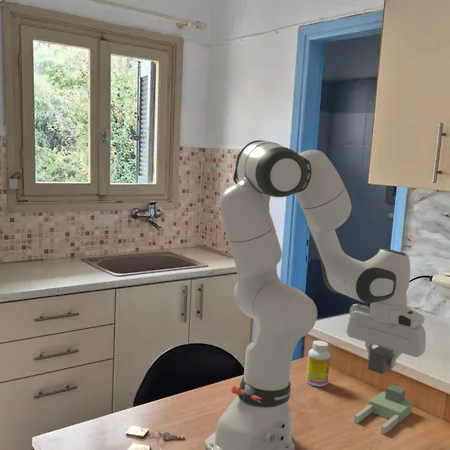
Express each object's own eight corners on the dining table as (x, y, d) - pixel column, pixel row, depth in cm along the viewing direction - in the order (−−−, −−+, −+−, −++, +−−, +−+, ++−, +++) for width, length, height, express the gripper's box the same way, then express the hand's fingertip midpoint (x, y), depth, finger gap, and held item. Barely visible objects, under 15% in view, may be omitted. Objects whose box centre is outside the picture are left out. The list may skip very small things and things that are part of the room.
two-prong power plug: (385, 435, 132) (387, 413, 131) (353, 421, 138) (355, 400, 137) (411, 412, 146) (414, 392, 145) (381, 400, 151) (383, 381, 150)
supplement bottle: (327, 388, 157) (331, 348, 155) (305, 385, 158) (309, 345, 156) (327, 380, 163) (331, 340, 162) (306, 376, 165) (310, 338, 163)
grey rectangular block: (379, 362, 139) (381, 344, 139) (393, 367, 137) (395, 349, 136) (367, 369, 134) (370, 350, 134) (382, 374, 132) (384, 355, 131)
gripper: (345, 303, 138) (340, 353, 140) (421, 323, 125) (415, 378, 126) (356, 300, 143) (351, 348, 144) (431, 318, 129) (424, 371, 131)
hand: (381, 362), depth 135 cm, fingers closed on grey rectangular block, 4 cm apart
